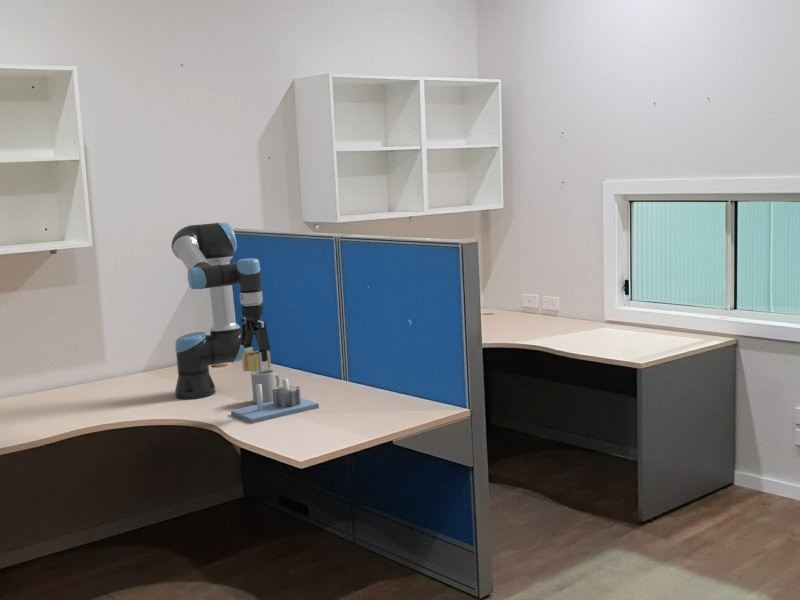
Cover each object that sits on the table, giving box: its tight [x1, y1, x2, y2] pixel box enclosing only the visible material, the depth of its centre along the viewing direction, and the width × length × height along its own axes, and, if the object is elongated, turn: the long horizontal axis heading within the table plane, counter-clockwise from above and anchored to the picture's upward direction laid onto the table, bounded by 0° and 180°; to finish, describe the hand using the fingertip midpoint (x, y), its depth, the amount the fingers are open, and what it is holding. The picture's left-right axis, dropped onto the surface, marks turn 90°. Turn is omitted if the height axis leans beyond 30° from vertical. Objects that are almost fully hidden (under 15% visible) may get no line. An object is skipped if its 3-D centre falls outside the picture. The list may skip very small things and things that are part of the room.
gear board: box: [230, 378, 320, 424], centre depth 325 cm, size 16×26×10 cm, turn 126°
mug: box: [250, 369, 281, 405], centre depth 341 cm, size 12×8×11 cm
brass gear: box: [241, 349, 272, 373], centre depth 320 cm, size 10×10×6 cm
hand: (257, 368), depth 320 cm, fingers closed on brass gear, 10 cm apart
